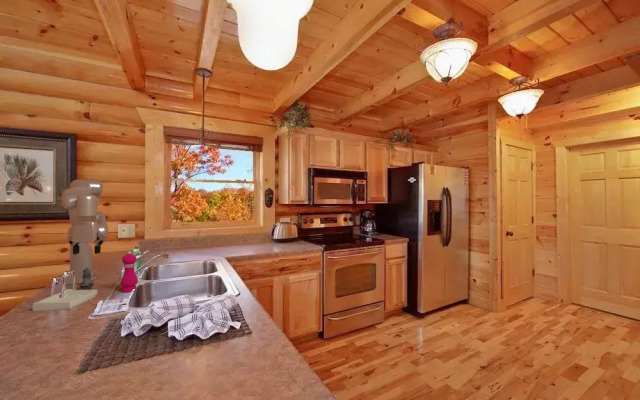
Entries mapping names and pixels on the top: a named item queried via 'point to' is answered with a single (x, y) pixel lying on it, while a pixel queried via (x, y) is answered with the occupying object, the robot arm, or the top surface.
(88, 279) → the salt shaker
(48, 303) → the tray
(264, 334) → the top surface
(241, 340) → the top surface
